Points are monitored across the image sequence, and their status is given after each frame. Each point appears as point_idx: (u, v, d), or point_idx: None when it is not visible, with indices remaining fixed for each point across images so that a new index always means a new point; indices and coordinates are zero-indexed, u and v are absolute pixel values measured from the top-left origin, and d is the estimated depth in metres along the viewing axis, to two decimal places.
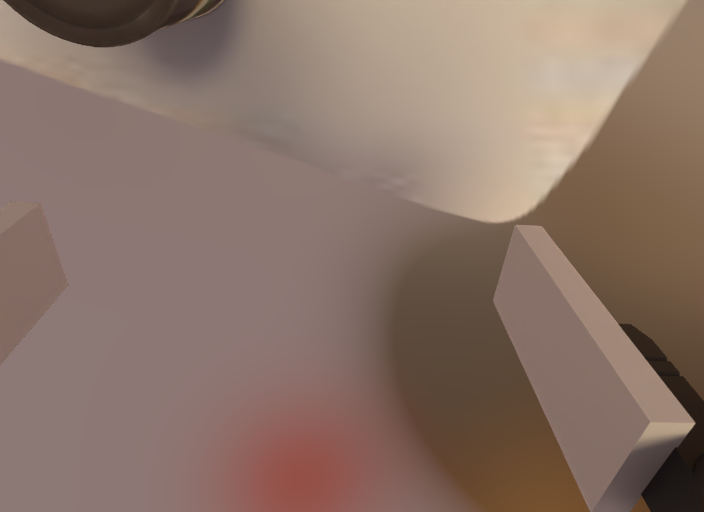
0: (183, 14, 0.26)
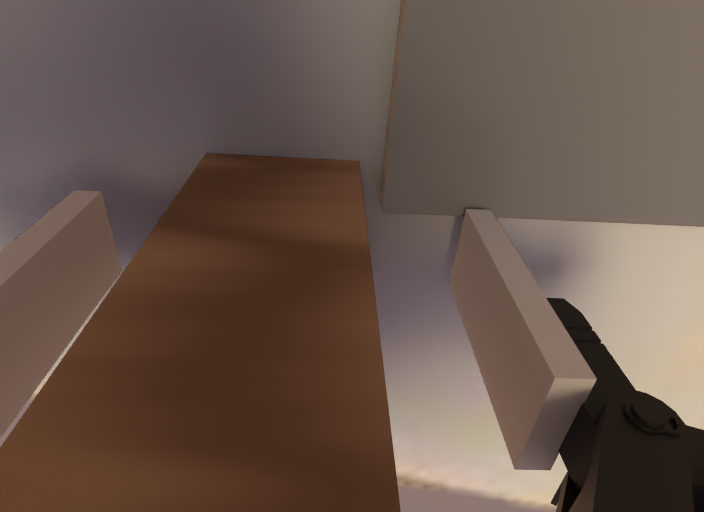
0: None
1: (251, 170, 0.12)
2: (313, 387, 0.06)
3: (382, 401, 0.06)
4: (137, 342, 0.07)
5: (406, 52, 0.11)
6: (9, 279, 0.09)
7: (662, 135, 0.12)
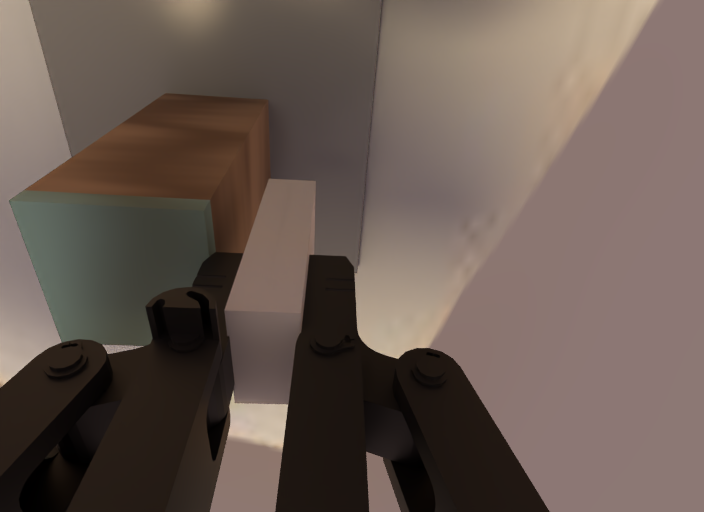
0: None
1: (192, 101, 0.19)
2: (189, 171, 0.13)
3: (221, 176, 0.13)
4: (106, 156, 0.13)
5: None
6: (276, 251, 0.11)
7: None
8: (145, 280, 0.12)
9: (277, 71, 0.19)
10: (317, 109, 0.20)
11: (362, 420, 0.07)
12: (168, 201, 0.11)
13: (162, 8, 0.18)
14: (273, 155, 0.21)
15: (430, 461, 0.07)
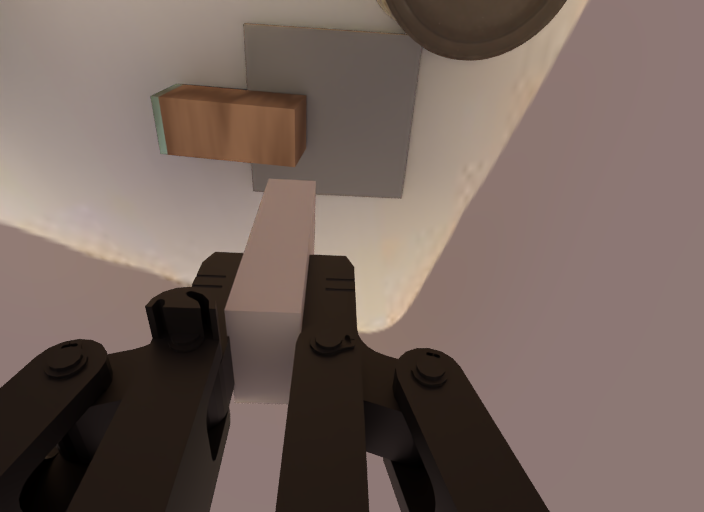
0: None
1: (289, 98, 0.36)
2: (186, 95, 0.34)
3: (178, 98, 0.34)
4: (208, 89, 0.37)
5: None
6: (276, 251, 0.11)
7: (335, 167, 0.41)
8: None
9: (366, 81, 0.37)
10: (385, 102, 0.38)
11: (362, 420, 0.07)
12: (161, 93, 0.35)
13: (310, 50, 0.36)
14: (359, 127, 0.39)
15: (430, 461, 0.07)
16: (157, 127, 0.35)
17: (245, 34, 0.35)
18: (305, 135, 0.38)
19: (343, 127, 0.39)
